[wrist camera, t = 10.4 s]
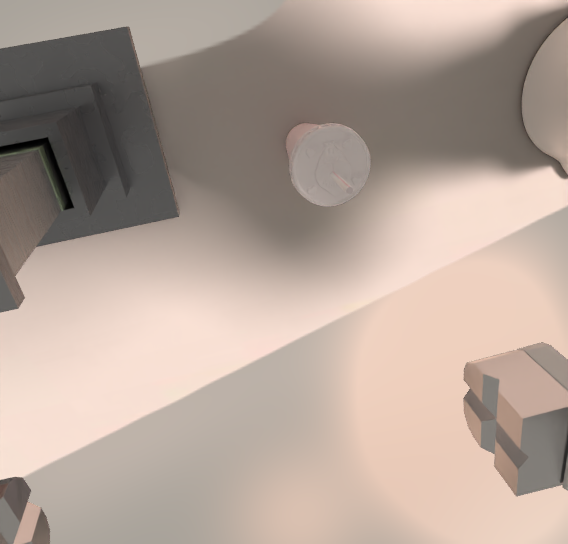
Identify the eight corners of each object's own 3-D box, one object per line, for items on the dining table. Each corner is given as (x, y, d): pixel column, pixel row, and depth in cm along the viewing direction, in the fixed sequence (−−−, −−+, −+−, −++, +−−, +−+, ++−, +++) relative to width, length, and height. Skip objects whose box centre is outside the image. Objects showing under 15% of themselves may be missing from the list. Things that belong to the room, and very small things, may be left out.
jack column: (65, 122, 35) (-36, 195, 19) (89, 191, 37) (18, 308, 21) (-10, 136, 34) (-178, 223, 19) (20, 205, 37) (-107, 336, 21)
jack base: (129, 26, 40) (107, 23, 29) (179, 211, 47) (177, 264, 36) (-77, 62, 38) (-180, 73, 27) (8, 247, 45) (-47, 313, 35)
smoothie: (278, 183, 47) (310, 235, 35) (265, 115, 45) (296, 147, 32) (341, 168, 48) (396, 214, 36) (332, 101, 45) (388, 125, 33)
